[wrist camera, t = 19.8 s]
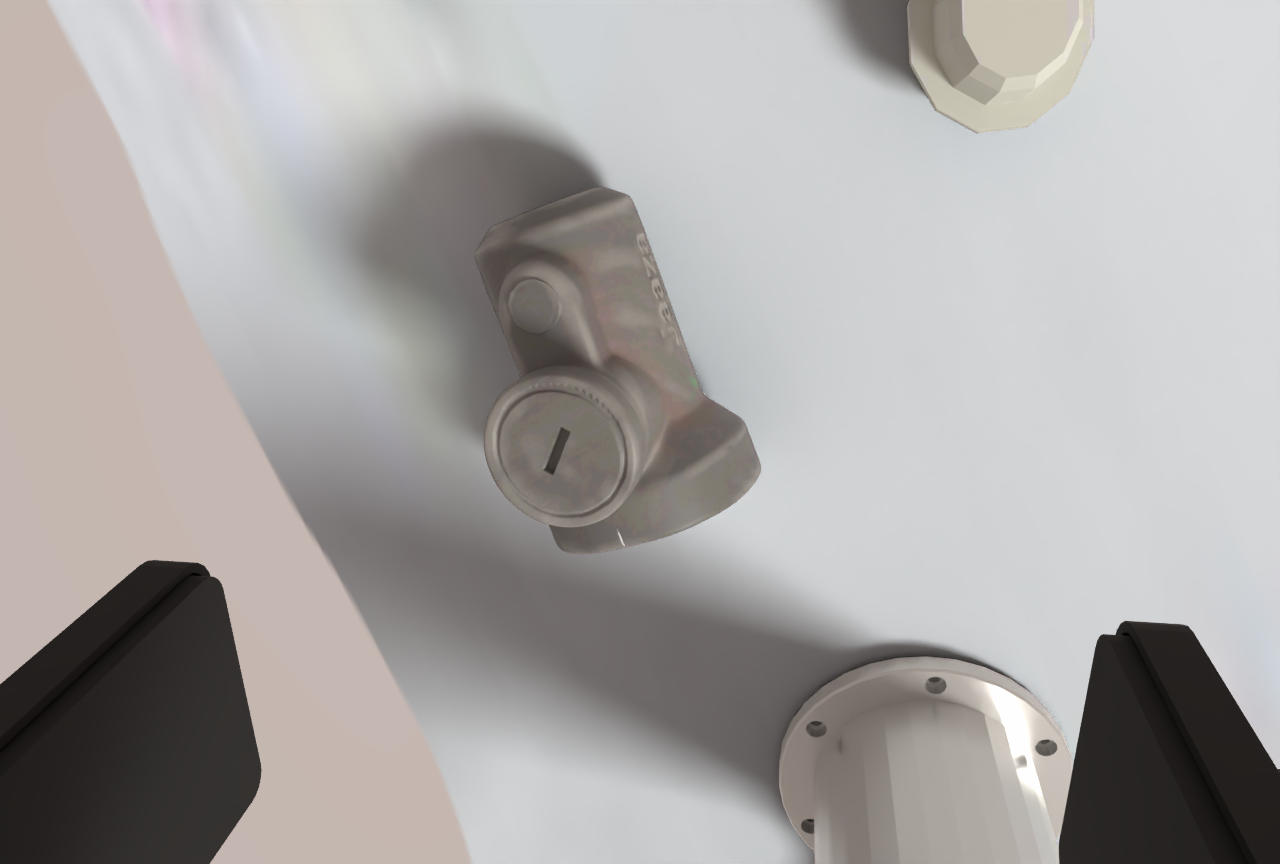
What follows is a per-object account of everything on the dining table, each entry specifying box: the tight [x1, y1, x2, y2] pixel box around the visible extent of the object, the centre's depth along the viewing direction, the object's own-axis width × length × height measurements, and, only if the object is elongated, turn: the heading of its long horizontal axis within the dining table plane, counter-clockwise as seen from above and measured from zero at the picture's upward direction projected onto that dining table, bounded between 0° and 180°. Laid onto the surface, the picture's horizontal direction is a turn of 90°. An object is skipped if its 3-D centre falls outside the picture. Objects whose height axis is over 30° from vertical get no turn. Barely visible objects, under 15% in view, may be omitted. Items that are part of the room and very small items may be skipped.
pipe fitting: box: [475, 187, 761, 554], centre depth 35 cm, size 12×8×10 cm, turn 20°
